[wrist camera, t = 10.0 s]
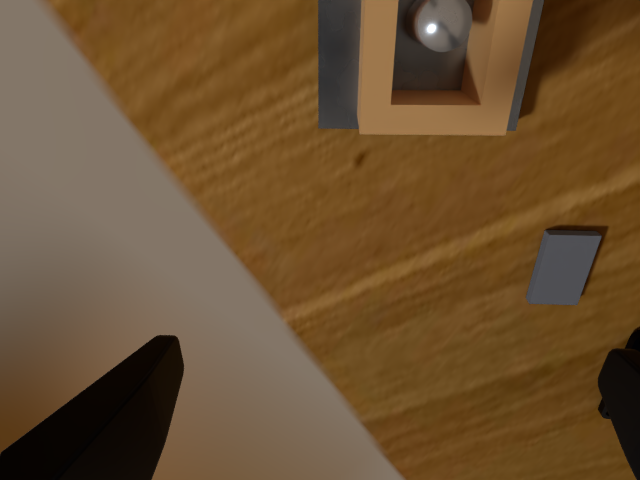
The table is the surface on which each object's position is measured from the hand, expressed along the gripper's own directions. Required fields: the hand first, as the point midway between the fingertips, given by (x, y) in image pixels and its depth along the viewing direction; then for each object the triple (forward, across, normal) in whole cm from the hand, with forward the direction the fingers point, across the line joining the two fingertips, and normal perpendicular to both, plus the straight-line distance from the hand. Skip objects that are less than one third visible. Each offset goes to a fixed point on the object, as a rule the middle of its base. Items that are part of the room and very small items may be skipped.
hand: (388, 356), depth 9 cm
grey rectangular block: (+12, -10, +5) cm, 16 cm away
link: (+11, -2, -6) cm, 13 cm away
